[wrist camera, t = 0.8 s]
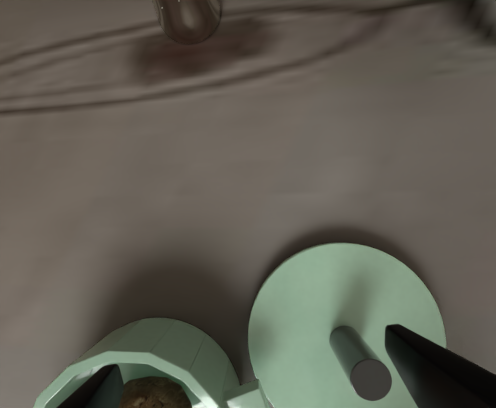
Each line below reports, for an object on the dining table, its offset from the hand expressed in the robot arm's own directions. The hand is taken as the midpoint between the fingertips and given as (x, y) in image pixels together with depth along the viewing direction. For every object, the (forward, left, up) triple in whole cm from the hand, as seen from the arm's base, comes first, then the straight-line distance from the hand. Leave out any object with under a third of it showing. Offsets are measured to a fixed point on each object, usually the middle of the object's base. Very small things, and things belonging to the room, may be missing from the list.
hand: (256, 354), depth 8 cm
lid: (-8, -4, -13) cm, 16 cm away
